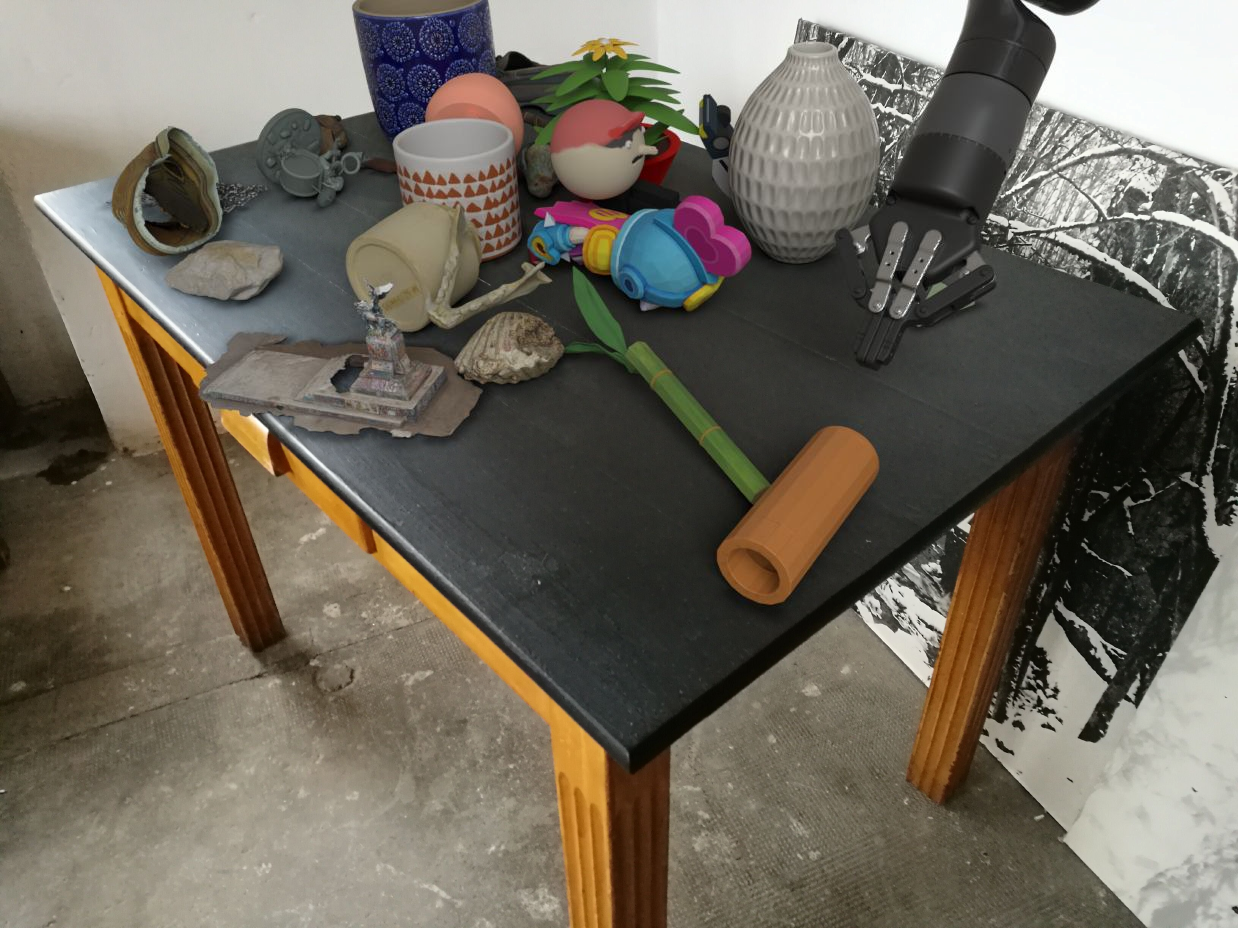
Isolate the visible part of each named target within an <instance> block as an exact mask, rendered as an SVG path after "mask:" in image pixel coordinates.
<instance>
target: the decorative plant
mask: <svg viewBox="0 0 1238 928" xmlns="http://www.w3.org/2000/svg"><path fill="white" fill-rule="evenodd" d="M572 285H573V293H574V298H575V301H576V304H577V306H578V308H579V310H580V313H581V315H582V317H583V318H584V320H585V322H586V324H587V326H588V327H589V329H590V330H591V332H592V333H593V334H594V335H595V336H596V338H598V339H599V340H600V341H601V342H602V343H604V345H606V346H607V347H610V348H611V349H613V350H614V351H615V352H612V351H610V350H608V349H607V348H605V347H604V346H602V345H600V344H598V343H589V342H588V343H587V342H579V341H575V342H571V343H570V344H568V345H566V346H564V351H563V354H579V353H581V354H582V353H590V352H591V353H596V354H599V355H607V356H609V357H610V358H612V359H613V360H614V361H617V362H618V363H620V364H622V365H624V366H625V368H626V370H627V371H628V372H629V373H630V374H636V375H638V374H639V375H641V376H642V377H643V378H644V380H645V381H646V382H647V383H648V384H649V386H650V390H651V391H654V392H656V394H657V395H658V396H659V397H660V398H661V399H662V401H663V402H664V403H665V404H666V405H667V407H668V408H669V409H670V410H671V411H672V412H673V413H674V415H675V416H676V417H677V419H679V421H680V422H681V423H682V424H683V425H684V427H686V429H687V430H688V431H689V432H690V434H692V436H693V437H694V438H695V439H696V440H697V442H698V444H699V446H700V447H701V448H704V450H705V451H706V452H707V454H708V455H710V457H711V458H712V459H713V460H714V461H715V462H716V464H717V465H718V467H720V468H721V470H722V471H723V472H724V474H725V475H726V476H727V477H728V478H729V479H730V480H731V482H732V483H734V485H735V486H736V488H738V489H739V491H740V492H741V493H742V494H743V495H744V497H745V498H746V499H747V500H748V501H749V503H751V504H752V505H753V506H754V505H755V503H756V502H757V501H758V500H759V499H760V498H761V496H762V495H763V494H764V493H765V492H766V491H767V489H768V488H769V487H770V486H771V485H772V484H771V483H770V482H769V481H768V479H766V477H765V476H764V475H763V474H762V473H761V472H760V471H759V469H758V468H757V467H756V466H755V465H754V464H753V463H752V461H750V460H749V458H748V457H747V456H746V455H745V453H744V452H743V451H742V450H741V449H740V448H739V447H738V446H737V445H736V444H735V443H734V441H733V440H732V439H731V438H730V437H729V436H728V434H727V433H726V432H725V431H724V430H723V429H722V427H721V426H719V424H718V423H717V422H716V421H715V420H714V419H713V418H712V416H711V415H710V414H709V413H708V411H706V409H704V407H703V406H702V405H701V404H700V403H699V402H698V401H697V400H696V398H695V397H694V396H693V395H692V394H691V393H690V391H689V390H687V388H686V387H685V386H684V385H683V384H682V382H681V381H680V380H679V379H678V378H677V377H676V376H675V374H673V373H674V372H673V371H672V370H670V369H669V368H668V366H667V365H666V364H665V363H664V362H663V360H661V359H660V358H659V357H658V356H657V354H656V353H655V352H654V351H653V350H652V349H651V348H650V346H649V345H648V344H647V343H646V342H645V341H639V340H637V341H636V342H634V343H633V344H631V345H630V346H628V348H627V344H626V340H625V335H624V333H623V331H622V327H621V325H620V324H619V322H618V321H617V320H616V319H615V318H614V317H613V315H612V313H611V312H610V311H609V309H608V307H607V306H606V304H605V302H604V301H603V299H602V298H601V296H600V295H599V293H598V292H597V290H596V288H595V286H594V285H593V284H592V282H591V281H590V280H589V279H588V278H587V277H586V276H585V274H584V273H583V272H581V271H580V270H579V269H578V268H577V267H575V266H574V265H573V266H572Z"/></svg>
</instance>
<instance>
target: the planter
mask: <svg viewBox="0 0 1238 928" xmlns="http://www.w3.org/2000/svg"><path fill="white" fill-rule="evenodd" d="M351 12H352V17H353V23H354V24H353V25H354V28H355V34H356V39H357V44H358V48H359V53H360V54H359V55H360V58H361V62H362V66H363V67H362V68H363V71H364V75H365V80H366V84H367V88H368V93H369V96H370V100H371V104H372V107H373V111H374V114H375V117H376V120H377V123H378V125H379V129H380V130H381V132H382V134H383V135H384V137H385V138H386V141H387V142H388V143H389V144H390V145H391V146H392V147H393V141H394V139H395V137H396V136H397V135H398V134H400V133H401V132H403V131H404V130H406V129H408V128H410V127H413V126H416V125H419V124H422V123H425V114H426V109H427V106H428V104H429V102H430V100H431V98H432V97H433V95H434V94H435V92H436V91H437V90H438V89H439V88H440V87H441V86H442V85H443V84H445V83H446V82H448V81H449V80H451V79H453V78H455V77H457V76H460V75H464V74H469V73H483V74H487V75H490V76H492V77H494V78H496V79H498V76H497V66H496V57H497V55H496V48H495V40H494V30H493V23H492V17H491V15H492V14H491V9H490V3H489V0H355V1H354V2H353V3H352V6H351Z"/></svg>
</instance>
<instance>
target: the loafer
mask: <svg viewBox="0 0 1238 928" xmlns="http://www.w3.org/2000/svg"><path fill="white" fill-rule="evenodd" d="M578 61H583V62H584V60H583V59H580V60H579V59H578ZM559 64H560V63H555V64H551V65H549V64H542V63H540V62H537V61H534V60H531V59H530V57H527V56H526V55H525V54H523V53H522V52H519V51H516V50H509V51H507V52H506V53H504V55H503V56H502V55H501V54H498V55H496V66H497V76H498V80H499V81H501V82H502V83H503V84H504V85H505V86H506V87H507V88H508V89H509V91H510V92H511V93H512V95H513V96H514V98H515V99H516V101H517V103H518V105H519V107H520V109H521V108H525V107H536V108H540V109H542V110H543V111H544V113H545V114H546V115H548V116H554V117H556V116H557V115H558V114H559V113H561V112H562V111H564V110H566V109H568V108H570V107H569V106H566V105H565V106H563V107H560V108H558V109H555V110H551V111H546V109H547V108H548V107H549V106H550V105H551V104H553V103H530V102H532V101H534V100H536V99H539V98H542V97H545V96H548V95H552V94H556V91H557V90H554V91H547V92H544V91H545V90H547V89H549V88H551V87H553V86H556V85H558V84H561V83H563V82H564V81H565V80H566V79H567V78H568V77H569V76H570V75H571V74H573V73H574V72H575V71H577V70H571V71H566V72H561V73H557V74H554V75H550V76H546V77H543V78H539V79H534V80H530V79H531V78H533V77H534V76H536V75H538V74H539V73H541V72H543V71H545V70H547V69H549V68H552V67H554V66H557V65H559ZM601 72H602V73H604V70H602V71H601ZM591 79H594V80H596V81H597V82H599V80H600V79H599V78H597V77H593V78H591ZM576 89H579V88H575V89H573V90H571V91H570V92H572V91H574V90H576ZM590 97H592V96H590Z"/></svg>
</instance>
